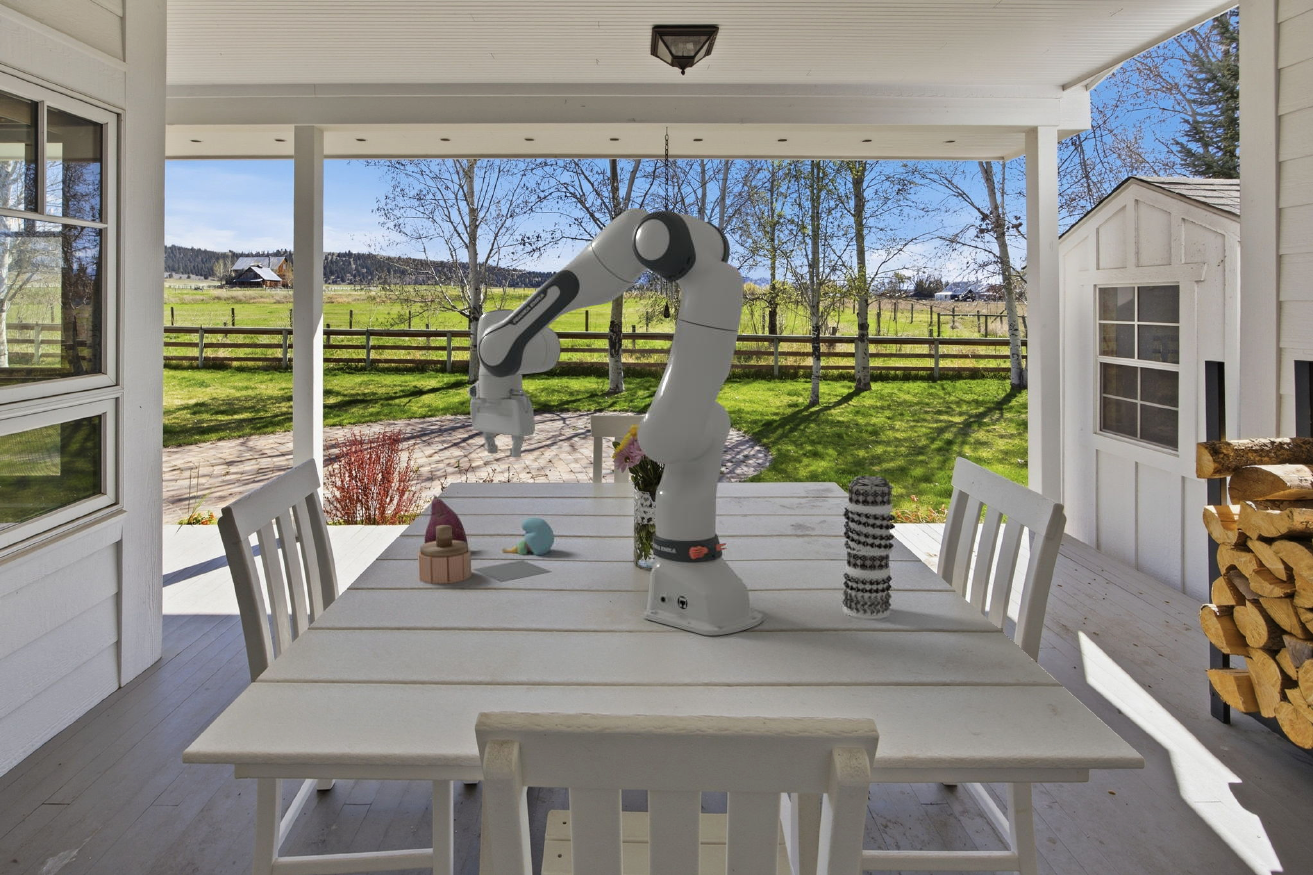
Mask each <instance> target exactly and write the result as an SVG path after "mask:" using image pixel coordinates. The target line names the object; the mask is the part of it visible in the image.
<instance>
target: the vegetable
mask: <svg viewBox="0 0 1313 875" xmlns="http://www.w3.org/2000/svg"><path fill="white" fill-rule="evenodd" d="M430 509H431V511H430V512H431V513H430V517H429V521H428V523H427V526H426V529H425V535H424V543H423V544H425V543H429V542H434V541H436V526H440V525H450V526H452V540H456V541H463V542H466V543H468V544H469V542H468V538H467V533H466V531H465V528H464V526H463V523H462V521H461V519H460V517H459V516H458V514H457V513H456V512H455V511H454V510H453V509H452V508H451V507H449V505H447V504H446V503H445V502H444V501H443V500H442V499H441V498H440V497H437V495H434V496H433V498H432V501H431V508H430Z"/></svg>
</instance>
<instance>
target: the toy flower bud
mask: <svg viewBox="0 0 1313 875" xmlns="http://www.w3.org/2000/svg"><path fill="white" fill-rule="evenodd" d="M521 529H522V531H524V532H525V533H523V536H524V539H522V540H520V541H518V542H517V543H516V545H515V546H514V547H511V548H506V547H502V548H501V551H502V553H504V554H518V555H519V556H520V555H521V556H523V555H524V556H525V555H528V553H529V551H530V552H532V553H533V555H534V556H542V555H546V554H548V553H549V552H550V550H551V548H552V547H553V545H554V543H555V542H554V541H555V534H554V531H553V528H552V526H550V524H549V523H548V522H547V521H546V520H545V519H542V518H540V517H528V518H526V519H524V520H523V521H522V522H521Z"/></svg>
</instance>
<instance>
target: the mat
mask: <svg viewBox="0 0 1313 875" xmlns="http://www.w3.org/2000/svg"><path fill="white" fill-rule="evenodd" d="M473 571H476V572H478V573H480V574H482V575H484V576H487V577H489V578H490V579H493V580H496V581H498V582H501V583H502V582H507V581H513V580H517V579H522V578H523V579H524V578H528V577H532V576H538V575H544V574H548V573H552V571H551V570H548V569H545V567H544V568H543V567H540V566H538V565H536V564H533V563H531V562H528V561H526V560H516V561H511V562H505V563H501V564H494V565H490V566H483V567H479V568H473Z"/></svg>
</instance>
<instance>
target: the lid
mask: <svg viewBox="0 0 1313 875" xmlns="http://www.w3.org/2000/svg"><path fill="white" fill-rule="evenodd" d="M424 543H425V542H424ZM424 543H423V544H421V545H420V546H419V547H420V550H419V551H420V553H421V554H422V555H424V556H428V557H452V556H458V555H462V554H465V553H466V552H468V548H469V542H468V543H466V542H463V541H456V540H452V526H450V525H440V526H436V541H434V542H429V543H425V544H424Z"/></svg>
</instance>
